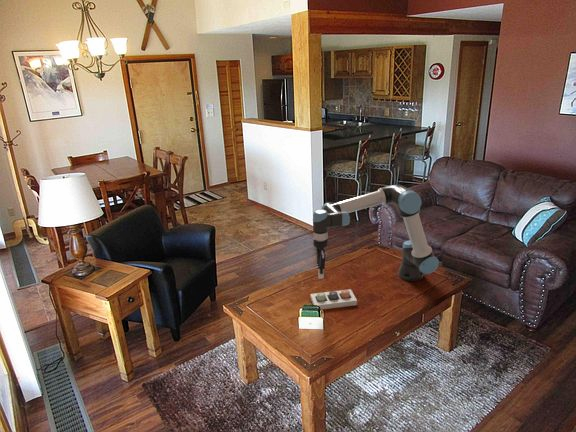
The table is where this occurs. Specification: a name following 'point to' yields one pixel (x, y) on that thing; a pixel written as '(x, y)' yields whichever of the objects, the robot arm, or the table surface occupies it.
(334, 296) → the button charcoal
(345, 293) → the button terracotta
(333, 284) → the table surface
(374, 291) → the table surface
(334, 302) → the board
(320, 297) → the button sage
